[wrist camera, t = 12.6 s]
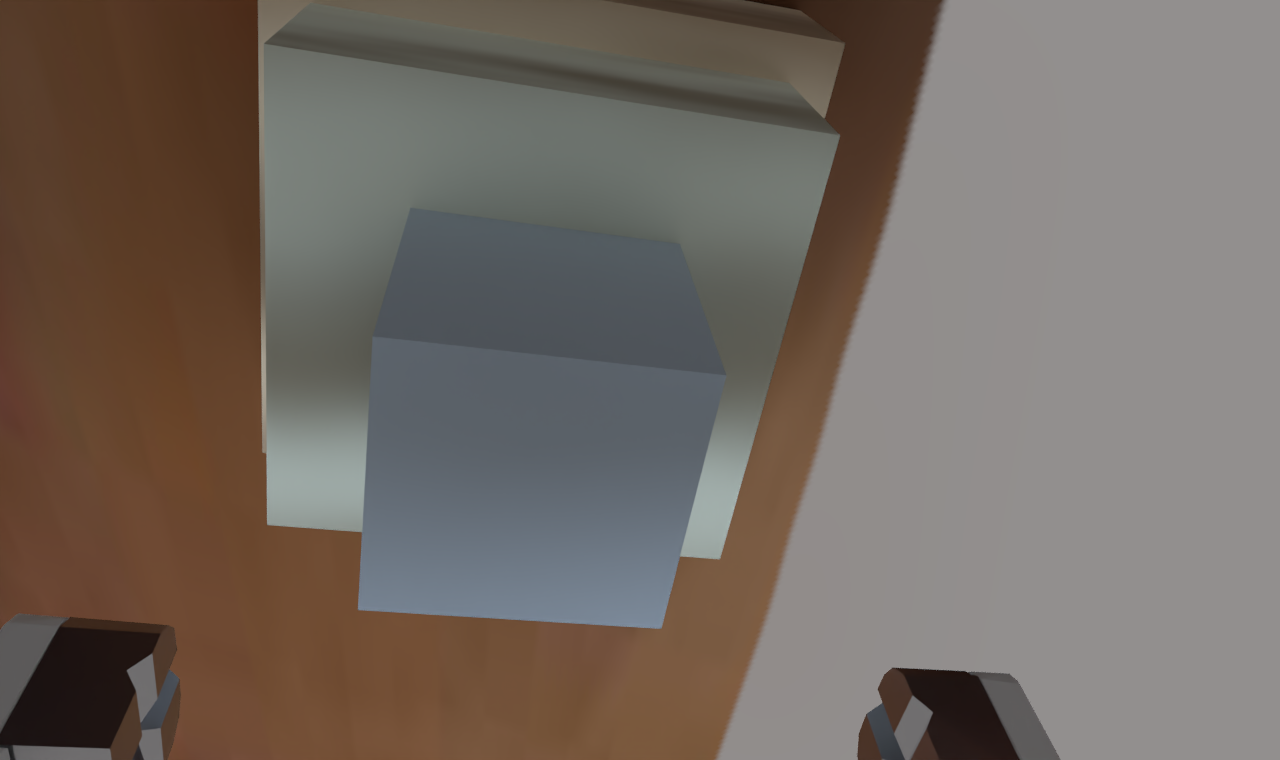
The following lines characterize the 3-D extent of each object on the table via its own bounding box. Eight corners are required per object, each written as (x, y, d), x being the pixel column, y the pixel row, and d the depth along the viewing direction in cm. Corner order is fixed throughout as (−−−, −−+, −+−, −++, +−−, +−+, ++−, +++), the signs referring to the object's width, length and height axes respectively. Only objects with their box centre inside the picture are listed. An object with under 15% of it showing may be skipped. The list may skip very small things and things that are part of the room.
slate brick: (410, 208, 18) (372, 336, 13) (680, 243, 18) (726, 375, 14) (394, 438, 20) (358, 610, 16) (633, 459, 21) (661, 629, 16)
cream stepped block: (299, -81, 22) (195, -33, 15) (800, 10, 24) (908, 89, 17) (295, 373, 28) (219, 557, 21) (699, 414, 30) (751, 594, 23)
